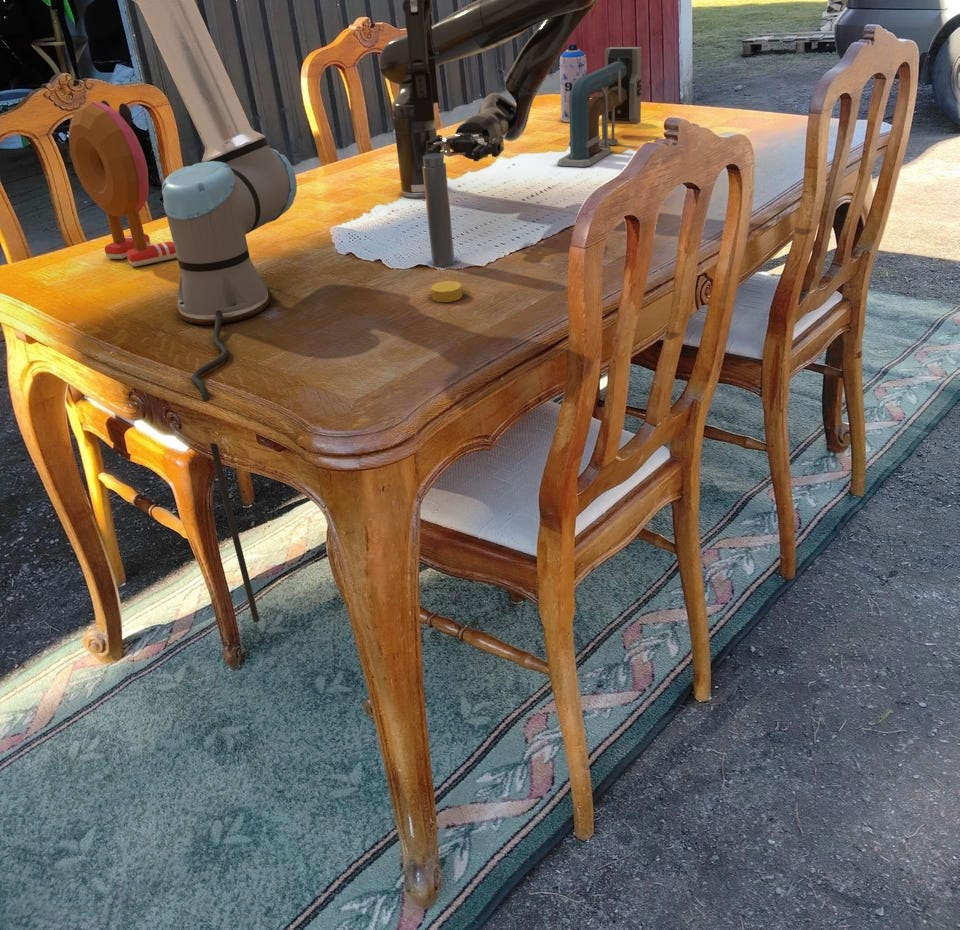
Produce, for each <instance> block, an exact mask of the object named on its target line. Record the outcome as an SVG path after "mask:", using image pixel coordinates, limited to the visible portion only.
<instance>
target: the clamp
mask: <svg viewBox="0 0 960 930" xmlns="http://www.w3.org/2000/svg"><path fill="white" fill-rule="evenodd" d="M596 93H600V94H597V95H595V96H593V97H591V96H592V95H594V94H596ZM641 106H642V47H641V46H609V47H606V48H605V66H603V67H601V68H599V69H597V70H594V71H592V72H590V73H587V75H585V76H583V77H581V78H579V79H578V81H577V82H576V83H575V84H574V85H573V86H572V89H571V91H570V96H569V114H570V122H569V142H568V147H569V151H570V153H568V154H566V155H564V156H562V157H561V158H559V159H558V161H557V163H556V165H558V166H561V167H562V166H563V167H581V168H584V167H591V166H592V165H593V164H595V163H597V162H598V161H600V160H601V159H603V158H605V157H606V156H607V155H609V154H611V153H612V152H613V151H612V149H611V146H616V145H617V144H619V140H618V138H615V125H638V124H640V123H641V122H642V120H641V119H642V117H641V115H642V114H641V113H642V107H641ZM600 116H601V136H600ZM610 124H611V136H610V138H609V125H610Z"/></svg>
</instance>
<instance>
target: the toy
mask: <svg viewBox="0 0 960 930" xmlns="http://www.w3.org/2000/svg"><path fill="white" fill-rule="evenodd" d="M118 110H119V111H117V110H115V109H113V108H112V107H111V105H110V104H109V102H108V101H106V100H100V101H97V100H94V101H92V102H90V103H88V104H85V105H84V106H82V107H80V108H78V109H76V110H75V111H74V112H73V114H72V119H71V121H70V124H69V129H68V147H69V154H70V159H71V162H72V165H73V169H74V172H75V174H76V176H77V178H78V180H79V182H80V184H81V186H82V188H83V190H84V191H85V192H86V193H87V195H88V196H89V198H90V199H91V200H92V201H93V202H94V203H95V204H96V205H97V206H98V208H100V209H101V210H103V211H104V212H105V215H106V219H107V223H108V227H109V230H110V234H111V238H112V242H110V243H108V244H106V245H105V246H104V252H105V257H107V259H108V258H109V259H113V260H116V259H117V260H120V259H125V258H127V262H128V264H130V266H131V267H140V266H145V265H149V264H153V263H158V262H159V263H160V262H164V261H168V260H174V259H177V255H176V251H175V247H174V243H173V241H164V242H160V243H155V244H152V243H151V239H150V236H149V235H148V234H147V233H145V231H144V227H143V223H142V220H141V216H140V213H139V212H141V211H142V210H143V208H144V206H145V204H146V203H147V200H148V197H149V187H150V186H149V167H148V164H147V160H146V157H145V156H146V155H145V153H144V151H143V148H142V146H141V144H140V141H139V139H138V136H137V135H136V134H135V132H134V130H133V129H132V127H131V126H133V114H132V111H131V109H130V107H129V106H128V105H127V103H124V102H122V103H119V106H118ZM122 217H126V221H127V223H128V228H129V231H130V234H128V235H126V236H125V233H124V229H123V224H122V220H121V218H122Z"/></svg>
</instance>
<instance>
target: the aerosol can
mask: <svg viewBox="0 0 960 930" xmlns="http://www.w3.org/2000/svg"><path fill="white" fill-rule="evenodd" d="M585 75H588V63H587V55H586V54H585V52H584V51H583V50H581V49H579V48H578V44H577V43H574V44H568V48H567V49H566V50H565V51H563V52H562V53H561V55H560V56H559V79H560V81H559V83H560V84H559V85H560V113H561V115H560V116H561V117H560V121H561V122H563V123H570V114H569V96H570V91H571V89H572V86H573V85H574V84H575V83H576V82H577V81H578V79H579V78H581V77H583V76H585Z"/></svg>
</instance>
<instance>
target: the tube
mask: <svg viewBox="0 0 960 930" xmlns="http://www.w3.org/2000/svg"><path fill="white" fill-rule="evenodd" d="M444 158H445V155H443V154H440V153H432V154H427V155H424V156H423V161H424V165H423V166H422V168H423V177H424V187H425V197H424V198H425V205H426V214H427V223H428V224H427V225H428V235H429V245H430V253H431V254H430V255H431V263H432V265H433V266H435V267H448V266H449V267H450V266H452V265H453V264H455V262H456V261H455V250H454V249H455V248H454V238H453V226H452V216H451V206H450V205H451V204H450V194H449V183H448V172H447V163H446V162H445V161H444V160H445V159H444Z"/></svg>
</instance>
